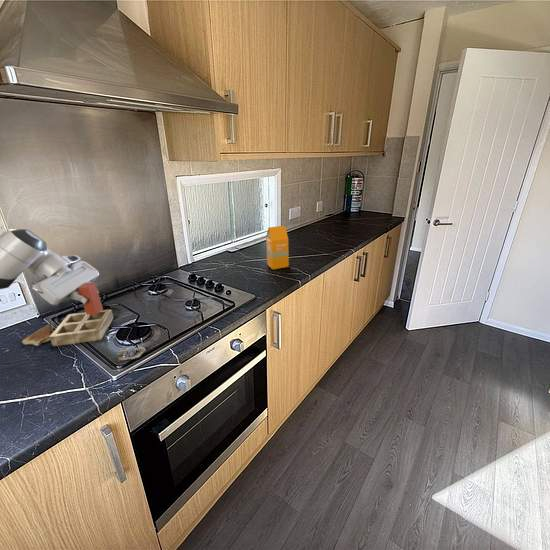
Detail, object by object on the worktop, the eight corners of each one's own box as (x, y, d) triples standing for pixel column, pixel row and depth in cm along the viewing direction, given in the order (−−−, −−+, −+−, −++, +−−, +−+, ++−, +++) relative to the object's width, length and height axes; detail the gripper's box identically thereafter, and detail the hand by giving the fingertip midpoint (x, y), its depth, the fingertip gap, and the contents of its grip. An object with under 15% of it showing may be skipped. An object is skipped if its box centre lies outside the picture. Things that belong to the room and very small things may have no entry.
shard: (52, 325, 101) (50, 321, 101) (71, 327, 100) (69, 322, 99) (22, 344, 92) (20, 339, 91) (42, 346, 90) (40, 341, 89)
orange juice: (288, 266, 146) (288, 227, 138) (272, 269, 143) (271, 229, 135) (282, 261, 152) (282, 223, 144) (266, 264, 149) (265, 225, 142)
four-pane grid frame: (52, 346, 90) (49, 337, 89) (71, 322, 103) (68, 314, 101) (101, 339, 93) (98, 330, 91) (113, 317, 105) (111, 309, 104)
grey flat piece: (113, 354, 86) (112, 348, 85) (142, 343, 90) (140, 338, 90) (119, 366, 81) (118, 360, 80) (149, 353, 86) (147, 348, 85)
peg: (86, 314, 97) (77, 287, 93) (93, 309, 101) (84, 282, 97) (96, 314, 97) (88, 287, 93) (103, 309, 100) (95, 282, 96)
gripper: (31, 277, 83) (74, 307, 86) (80, 253, 102) (114, 279, 105) (22, 291, 85) (65, 320, 88) (72, 265, 104) (105, 290, 107)
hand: (92, 297), depth 97 cm, fingers closed on peg, 3 cm apart
